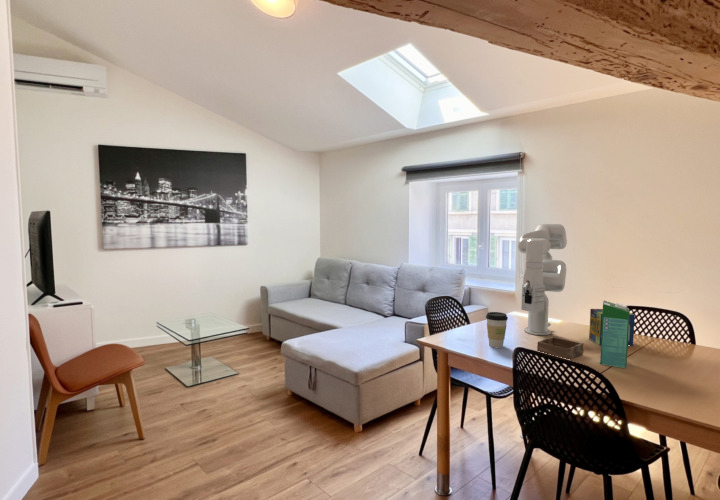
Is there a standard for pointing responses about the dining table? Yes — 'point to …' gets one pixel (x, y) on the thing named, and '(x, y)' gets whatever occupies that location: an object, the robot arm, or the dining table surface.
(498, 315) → the coffee cup
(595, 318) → the protein box
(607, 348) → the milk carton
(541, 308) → the supplement box
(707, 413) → the dining table surface
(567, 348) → the bin
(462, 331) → the dining table surface
